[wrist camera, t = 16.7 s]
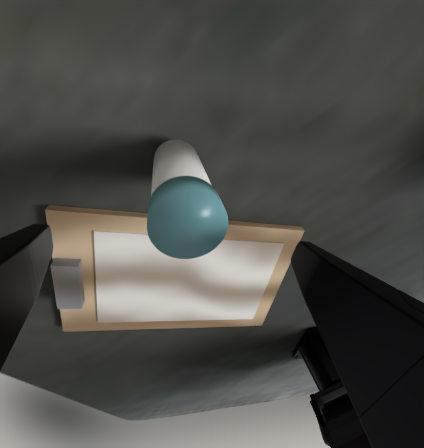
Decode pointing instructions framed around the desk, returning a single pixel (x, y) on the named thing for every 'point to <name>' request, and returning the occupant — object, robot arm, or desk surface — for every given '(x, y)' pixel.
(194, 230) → the marker
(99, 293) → the clipboard
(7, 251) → the robot arm
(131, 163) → the desk surface
